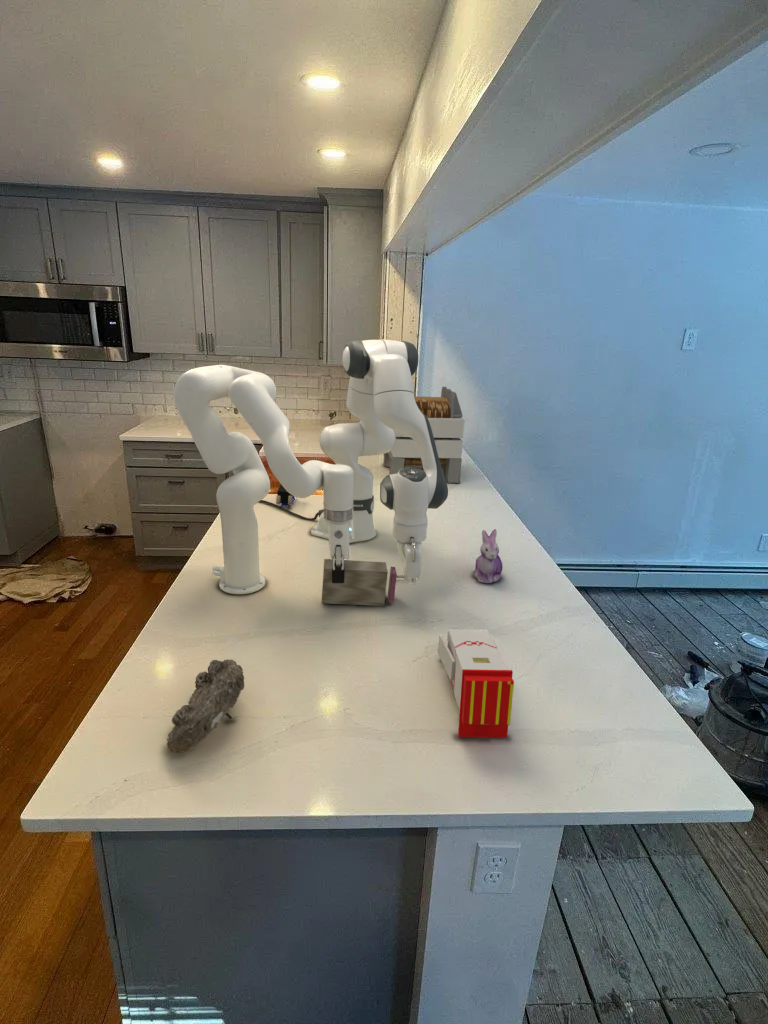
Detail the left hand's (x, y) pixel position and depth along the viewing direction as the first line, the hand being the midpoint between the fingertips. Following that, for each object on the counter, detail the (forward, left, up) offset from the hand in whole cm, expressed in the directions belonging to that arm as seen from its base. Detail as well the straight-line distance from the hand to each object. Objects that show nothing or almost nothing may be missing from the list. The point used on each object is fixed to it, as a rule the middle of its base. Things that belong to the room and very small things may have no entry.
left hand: (338, 576), depth 150 cm
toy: (+38, -30, -7) cm, 48 cm away
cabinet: (+4, +1, -7) cm, 8 cm away
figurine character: (-41, +69, -7) cm, 81 cm away
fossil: (-10, -51, -7) cm, 52 cm away
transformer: (+2, +133, -7) cm, 133 cm away
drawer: (+10, +3, -6) cm, 12 cm away
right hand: (+18, +5, -1) cm, 19 cm away
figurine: (+39, +26, -7) cm, 48 cm away
